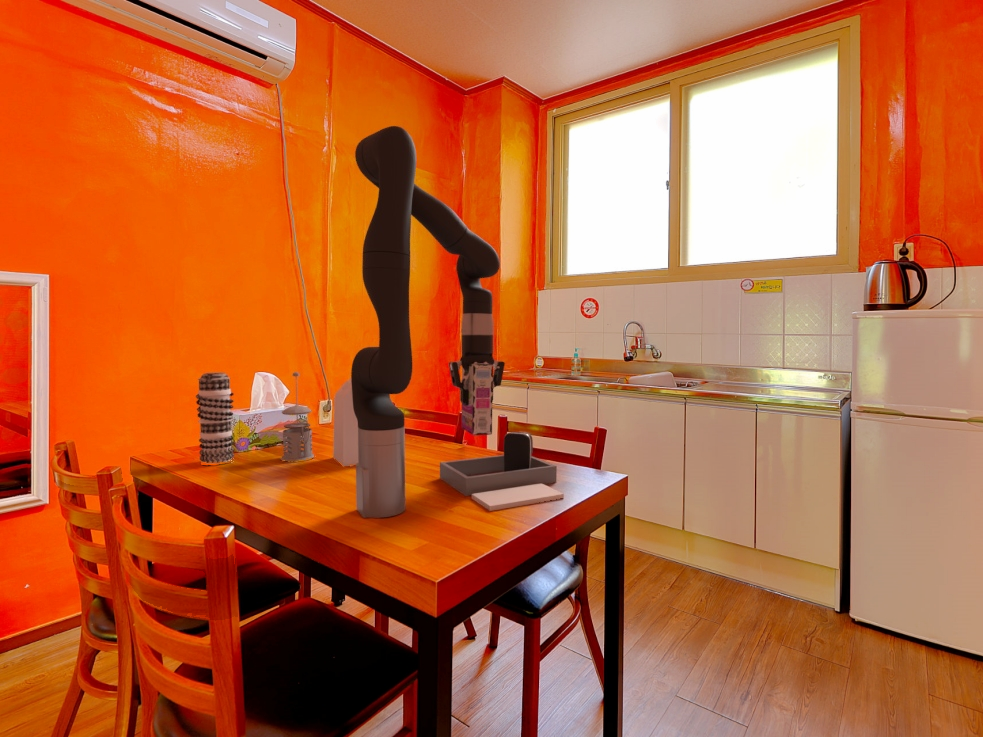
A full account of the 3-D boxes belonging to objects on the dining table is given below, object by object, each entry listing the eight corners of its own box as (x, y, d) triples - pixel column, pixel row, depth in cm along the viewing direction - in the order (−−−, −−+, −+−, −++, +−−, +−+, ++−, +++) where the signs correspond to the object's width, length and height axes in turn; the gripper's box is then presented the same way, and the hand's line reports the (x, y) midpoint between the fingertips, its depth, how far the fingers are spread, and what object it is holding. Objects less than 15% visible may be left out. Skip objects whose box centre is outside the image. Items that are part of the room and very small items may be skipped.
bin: (465, 496, 114) (465, 478, 114) (439, 478, 129) (439, 462, 128) (556, 482, 125) (556, 466, 125) (523, 467, 139) (523, 452, 139)
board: (490, 510, 105) (490, 506, 105) (471, 498, 113) (471, 493, 113) (563, 498, 113) (563, 493, 113) (541, 487, 121) (541, 483, 121)
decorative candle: (208, 458, 149) (205, 372, 147) (241, 458, 149) (238, 371, 148) (191, 466, 140) (188, 374, 138) (226, 466, 140) (223, 374, 139)
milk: (384, 462, 145) (383, 369, 143) (343, 467, 139) (341, 371, 138) (372, 453, 155) (370, 367, 154) (333, 458, 150) (331, 368, 148)
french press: (308, 452, 156) (306, 370, 155) (323, 459, 147) (321, 372, 146) (275, 457, 150) (272, 371, 148) (288, 465, 141) (286, 374, 139)
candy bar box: (493, 435, 119) (494, 363, 118) (472, 436, 117) (472, 364, 116) (480, 427, 129) (480, 361, 129) (460, 428, 128) (461, 362, 127)
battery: (534, 476, 130) (534, 432, 129) (529, 480, 126) (529, 434, 126) (508, 474, 133) (508, 430, 132) (502, 477, 129) (503, 432, 128)
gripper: (455, 332, 116) (455, 408, 116) (511, 333, 122) (510, 405, 123) (443, 333, 122) (443, 404, 123) (497, 334, 129) (496, 401, 130)
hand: (476, 404), depth 123 cm, fingers closed on candy bar box, 5 cm apart
